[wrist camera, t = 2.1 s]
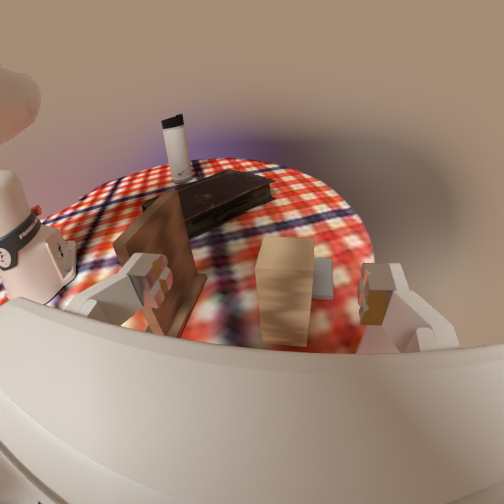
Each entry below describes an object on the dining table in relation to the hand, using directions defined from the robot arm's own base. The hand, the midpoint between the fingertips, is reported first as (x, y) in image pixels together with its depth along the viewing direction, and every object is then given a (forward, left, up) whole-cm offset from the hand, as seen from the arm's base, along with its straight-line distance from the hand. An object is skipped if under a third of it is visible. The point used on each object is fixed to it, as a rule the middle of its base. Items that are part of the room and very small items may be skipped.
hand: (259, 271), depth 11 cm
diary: (-47, +5, -19) cm, 52 cm away
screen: (-20, -5, -19) cm, 28 cm away
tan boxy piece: (-10, +6, -19) cm, 22 cm away
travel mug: (-71, +2, -19) cm, 74 cm away
